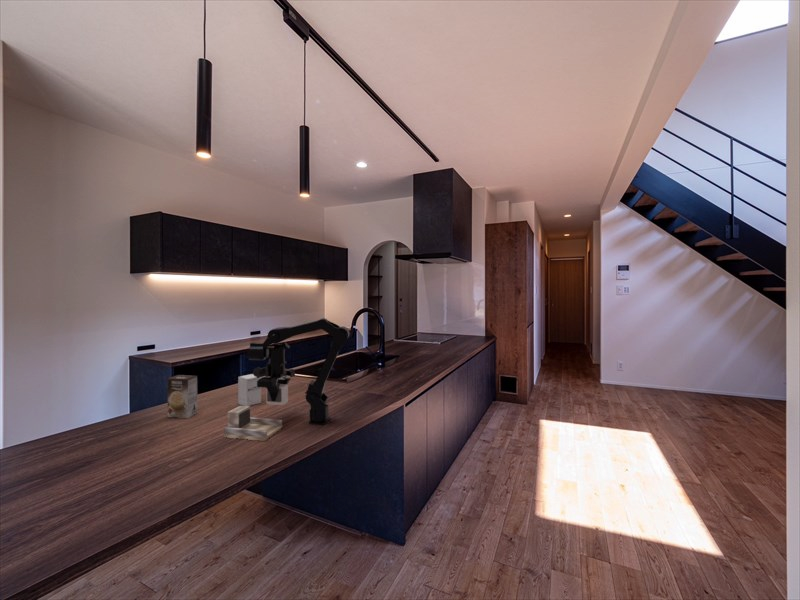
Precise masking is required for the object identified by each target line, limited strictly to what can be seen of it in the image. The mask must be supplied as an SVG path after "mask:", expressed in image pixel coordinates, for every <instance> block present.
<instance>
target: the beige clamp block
mask: <svg viewBox="0 0 800 600" xmlns="http://www.w3.org/2000/svg"><path fill="white" fill-rule="evenodd" d="M281 428H282V429H283V419H279V418H278V419H277V418H265V417H252V416H251V405H250V406H243V405H239V406H237V407H235V408H233V409H231V410H229V411H228V412H227V426H225V427H223V438H226V437H227V438H228V439H236V438H238V439H239V440H247V439H248V440H250V441H258V440H259V442H261V441H262V442H266V441H267V440H269V439H270V438H271V437H272V436H274V435H275V434H277V433H278V432H279V431H281V430H282V429H281ZM277 431H278V432H277ZM273 434H274V435H273ZM269 437H270V438H269ZM227 438H226V439H227ZM268 438H269V439H268ZM238 439H237V440H238Z"/></svg>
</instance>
